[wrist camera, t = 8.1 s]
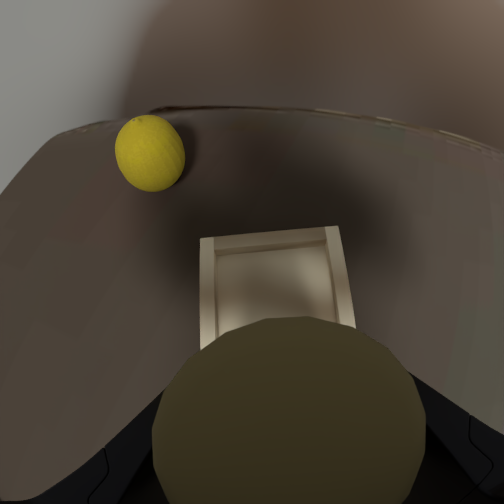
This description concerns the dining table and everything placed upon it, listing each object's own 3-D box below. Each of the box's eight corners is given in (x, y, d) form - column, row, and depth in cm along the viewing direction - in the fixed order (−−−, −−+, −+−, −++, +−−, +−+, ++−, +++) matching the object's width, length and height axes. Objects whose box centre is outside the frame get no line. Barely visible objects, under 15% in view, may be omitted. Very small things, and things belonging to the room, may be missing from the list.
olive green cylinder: (281, 323, 15) (281, 197, 5) (368, 397, 13) (524, 407, 3) (198, 405, 14) (44, 432, 4) (285, 482, 11) (288, 632, 1)
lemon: (187, 209, 25) (154, 144, 18) (131, 208, 26) (88, 150, 18) (200, 160, 27) (178, 93, 20) (148, 161, 28) (117, 102, 20)
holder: (354, 368, 18) (360, 366, 17) (207, 380, 19) (201, 380, 18) (334, 235, 23) (337, 225, 21) (205, 247, 23) (200, 238, 22)
